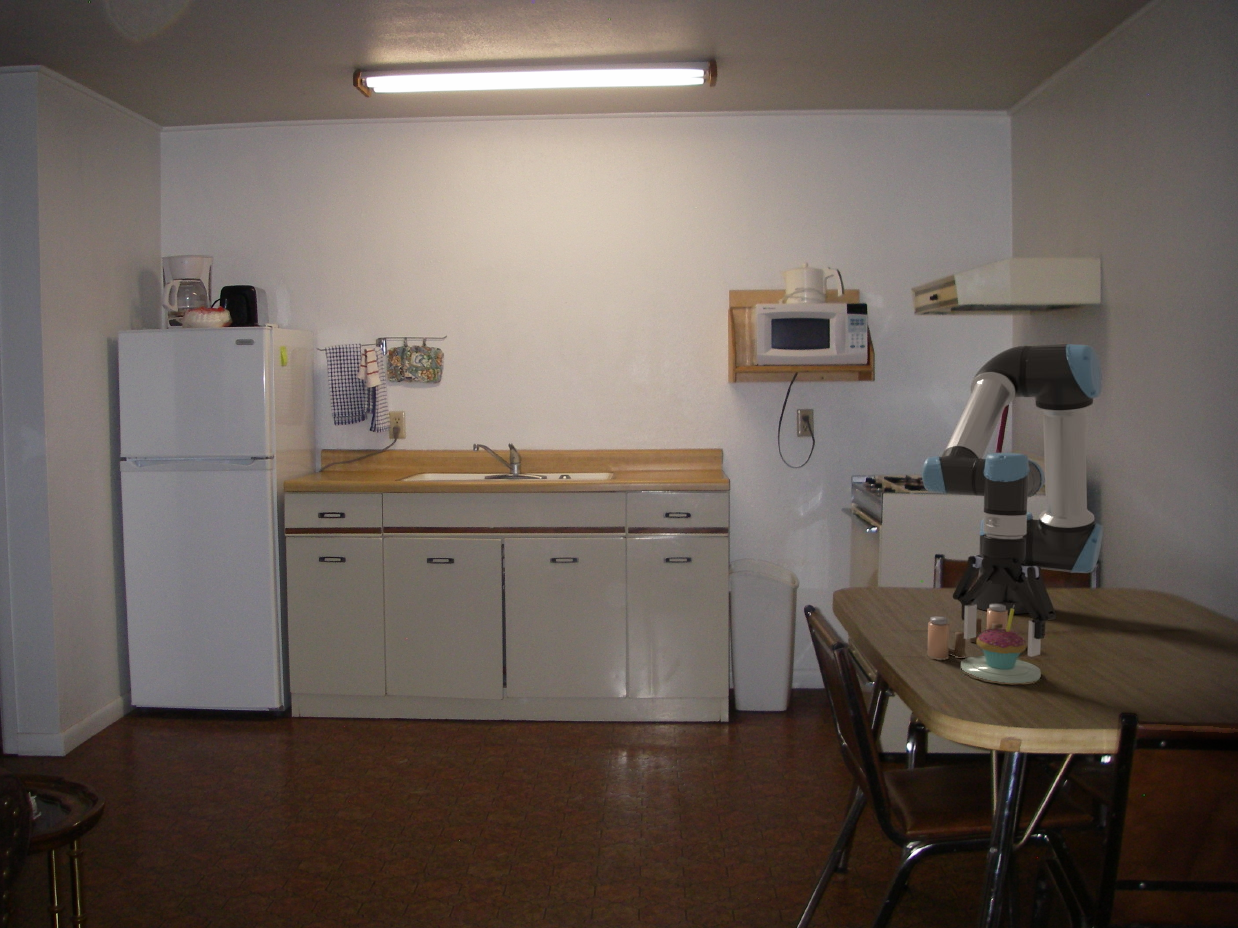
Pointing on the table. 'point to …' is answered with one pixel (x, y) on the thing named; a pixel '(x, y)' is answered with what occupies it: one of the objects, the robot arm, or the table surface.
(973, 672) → the plate
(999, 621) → the shaker
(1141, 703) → the table surface
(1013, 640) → the cupcake
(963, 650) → the rack
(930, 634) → the shaker
